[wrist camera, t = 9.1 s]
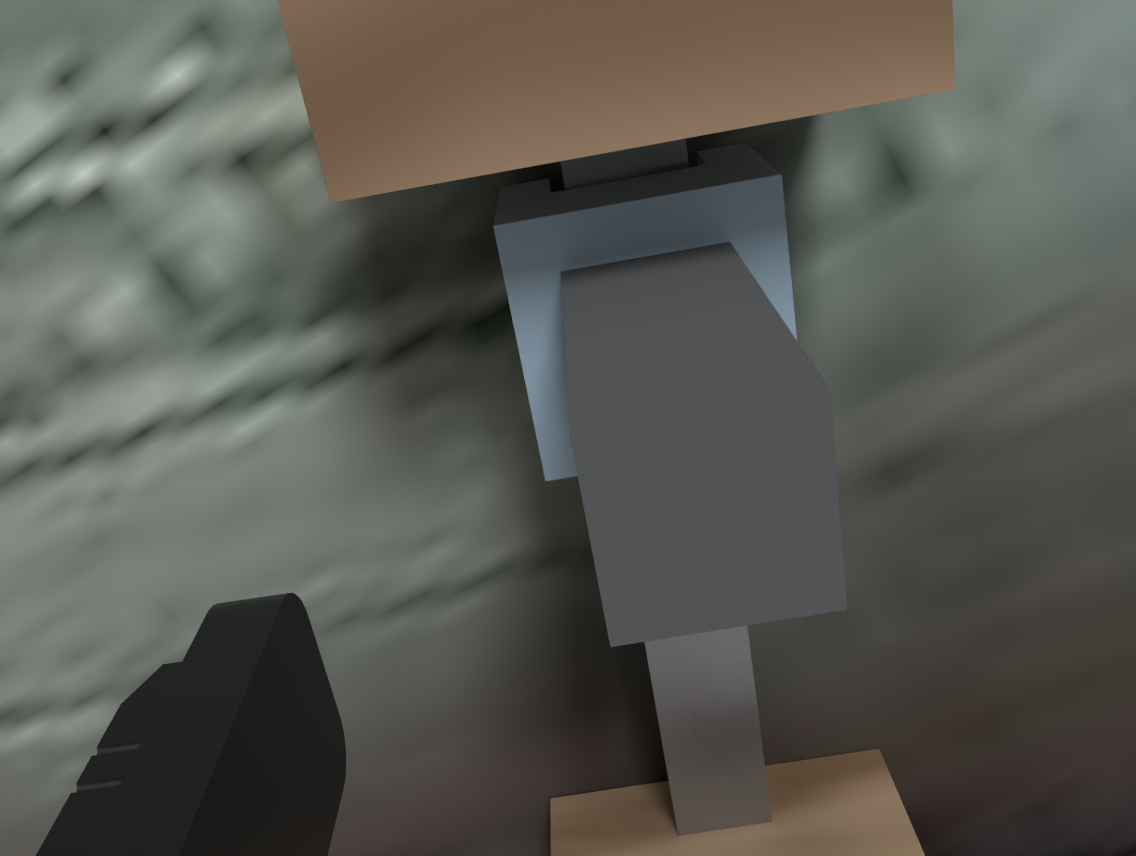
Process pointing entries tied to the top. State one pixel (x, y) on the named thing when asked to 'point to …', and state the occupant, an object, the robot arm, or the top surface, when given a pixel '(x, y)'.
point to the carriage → (678, 393)
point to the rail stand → (604, 154)
